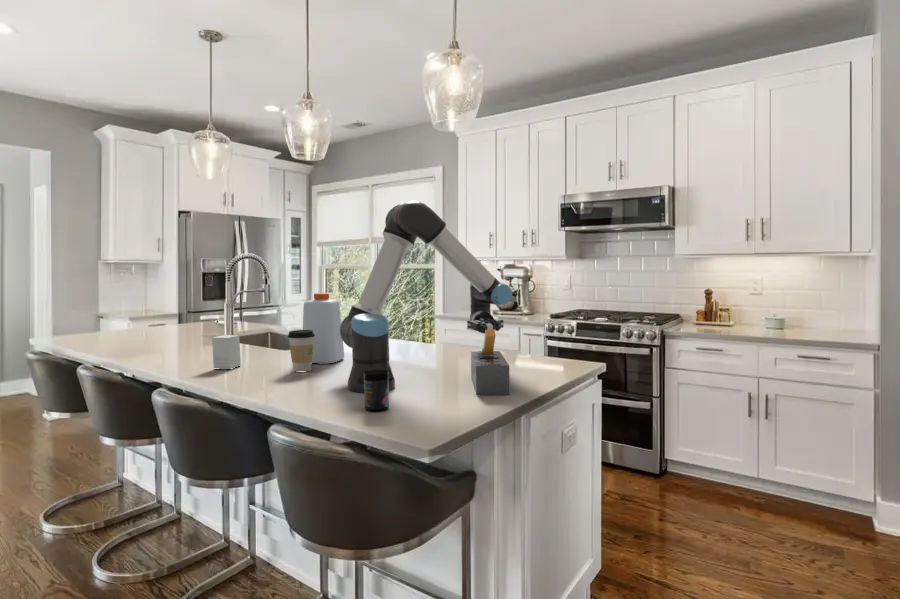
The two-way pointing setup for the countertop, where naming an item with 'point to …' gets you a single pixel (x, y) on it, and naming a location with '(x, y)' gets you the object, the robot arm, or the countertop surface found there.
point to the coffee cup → (301, 349)
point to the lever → (488, 342)
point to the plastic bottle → (324, 328)
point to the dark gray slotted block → (489, 373)
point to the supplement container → (376, 390)
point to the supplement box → (226, 351)
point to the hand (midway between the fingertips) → (490, 330)
